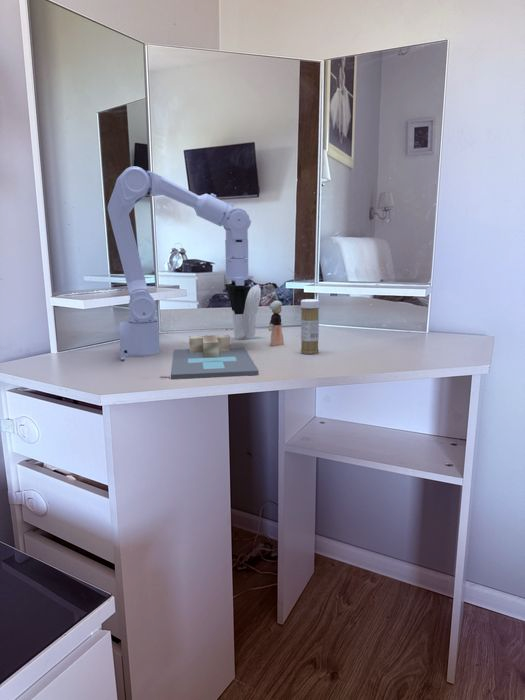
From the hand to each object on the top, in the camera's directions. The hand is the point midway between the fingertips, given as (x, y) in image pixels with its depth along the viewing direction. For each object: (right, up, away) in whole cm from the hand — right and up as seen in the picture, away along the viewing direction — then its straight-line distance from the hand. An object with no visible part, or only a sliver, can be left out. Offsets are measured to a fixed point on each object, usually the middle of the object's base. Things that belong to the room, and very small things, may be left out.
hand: (237, 312), depth 124 cm
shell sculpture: (+1, -7, +16) cm, 17 cm away
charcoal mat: (-5, -13, -12) cm, 18 cm away
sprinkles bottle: (+18, -11, -2) cm, 21 cm away
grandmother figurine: (+10, -9, +5) cm, 15 cm away
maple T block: (-6, -10, -6) cm, 13 cm away
